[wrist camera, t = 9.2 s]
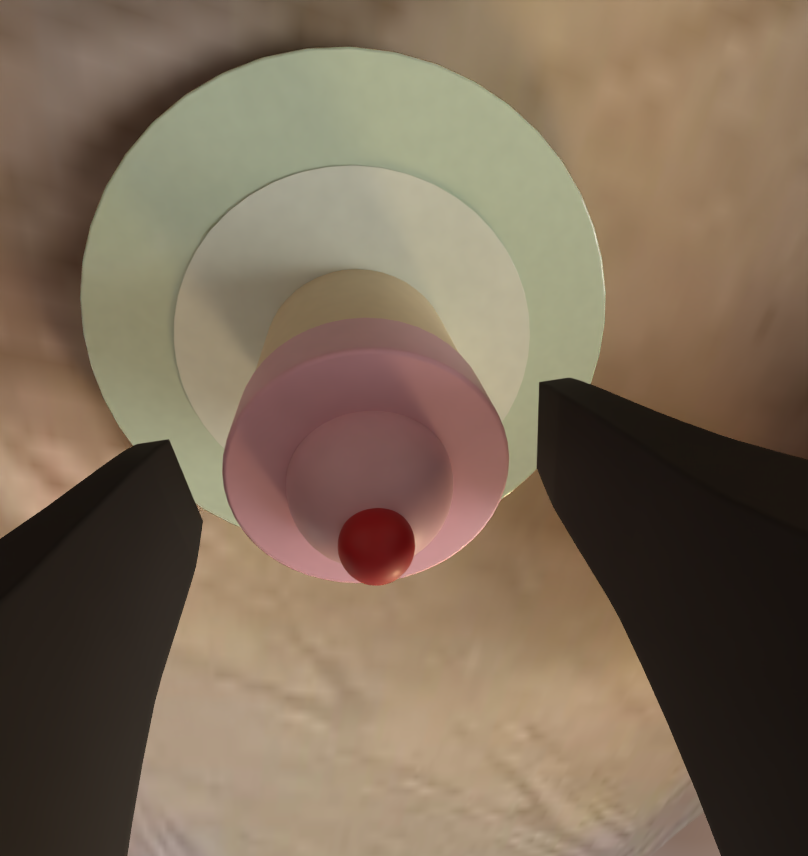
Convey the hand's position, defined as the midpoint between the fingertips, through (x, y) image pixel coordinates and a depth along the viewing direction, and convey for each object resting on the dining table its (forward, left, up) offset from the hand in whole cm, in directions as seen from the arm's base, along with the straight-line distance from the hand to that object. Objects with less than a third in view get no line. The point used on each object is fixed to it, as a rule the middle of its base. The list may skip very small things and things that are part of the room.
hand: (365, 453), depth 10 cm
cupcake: (0, 0, -5) cm, 5 cm away
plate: (0, 0, -6) cm, 6 cm away
